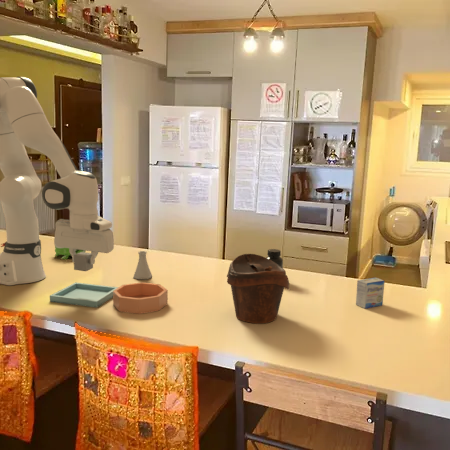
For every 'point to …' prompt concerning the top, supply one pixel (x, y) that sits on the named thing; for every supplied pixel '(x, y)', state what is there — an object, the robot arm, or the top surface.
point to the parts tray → (83, 294)
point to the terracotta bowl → (140, 297)
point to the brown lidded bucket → (256, 287)
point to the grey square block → (82, 261)
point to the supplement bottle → (275, 256)
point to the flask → (142, 267)
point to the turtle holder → (65, 252)
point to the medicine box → (370, 293)
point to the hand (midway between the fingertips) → (83, 262)
